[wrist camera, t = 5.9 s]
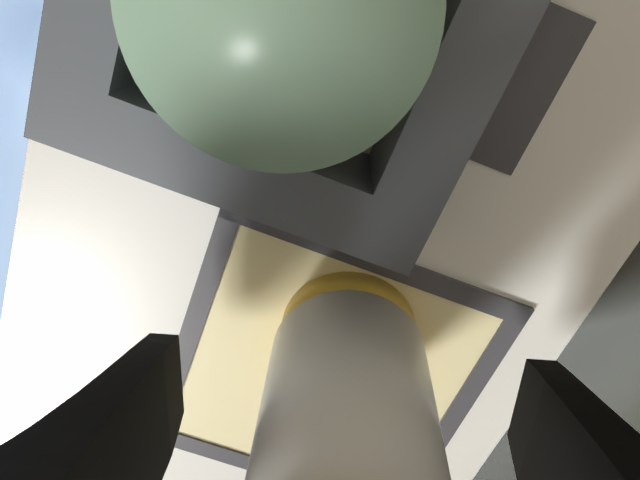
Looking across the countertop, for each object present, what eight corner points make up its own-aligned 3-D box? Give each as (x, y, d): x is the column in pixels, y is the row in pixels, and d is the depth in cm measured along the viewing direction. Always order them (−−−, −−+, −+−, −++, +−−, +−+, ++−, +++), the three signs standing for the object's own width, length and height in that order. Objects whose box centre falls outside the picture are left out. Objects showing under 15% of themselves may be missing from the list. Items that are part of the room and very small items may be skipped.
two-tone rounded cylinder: (412, 392, 14) (462, 727, 8) (274, 383, 14) (215, 707, 8) (431, 270, 13) (511, 562, 6) (276, 260, 13) (205, 540, 6)
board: (405, 563, 18) (407, 576, 17) (-13, 437, 16) (-22, 448, 16) (825, -44, 10) (844, -44, 10) (117, -379, 9) (107, -395, 8)
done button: (362, 159, 10) (367, 215, 8) (146, 76, 10) (81, 108, 7) (465, -81, 8) (510, -102, 6) (210, -194, 8) (153, -263, 6)
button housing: (398, 223, 12) (408, 276, 10) (84, 106, 12) (24, 136, 9) (570, -133, 9) (635, -164, 7) (167, -321, 9) (106, -418, 7)
